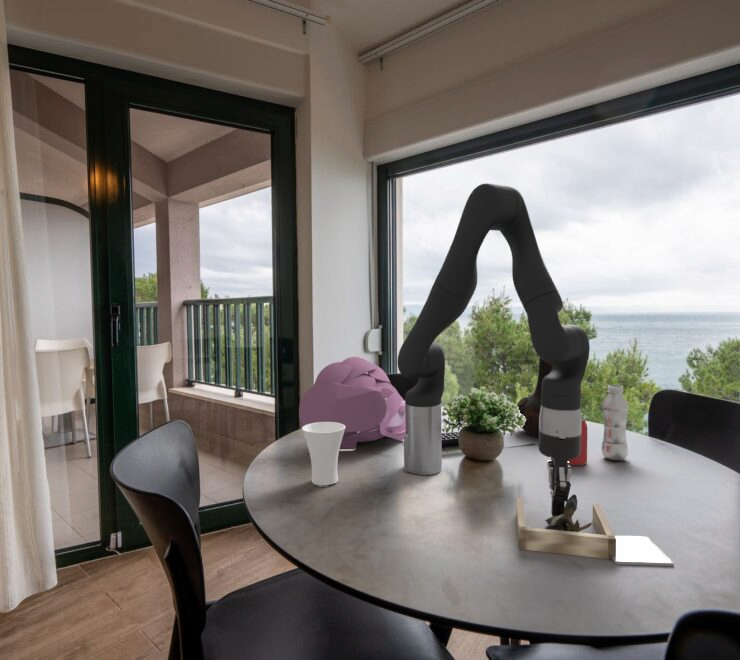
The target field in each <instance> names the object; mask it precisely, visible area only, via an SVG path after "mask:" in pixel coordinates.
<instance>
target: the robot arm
mask: <svg viewBox="0 0 740 660" xmlns="http://www.w3.org/2000/svg"><path fill="white" fill-rule="evenodd" d="M525 202H526V201H525V199H524V197H523V195H522V193H521V192H520V191H519V190H518V189H516V188H515V187H512V186H509V185H503V184H496V183H481V184H479V185H477V186H476V187H474V189H473V190H472V192H470V194H469V196H468V198H467V199H466V203H465V206H464V208H463V211H462V213H461V217H460V219H459V222H458V225H457V228H456V230H455V231H456V232H455V234H454V236H453V239H452V242H451V245H450V246H449V249H448V251H447V255H446V256H445V259H444V261H443V263H442V266H441V268H440V270H439V272H438V274H437V276H436V278H435V280H434V282H433V284H432V287H431V289H430V291H429V294H428V296H427V299H426V301H425V303H424V305H423V307H422V309H421V311H420V313H419V315H418V317H417V319H416V321H415V323H414V324H413V326H412V328H411V330H410V331H409V333H408V335H407V336H406V338H405V339H404V341H403V343H402V345H400V346H401V347H400V349H399V351H398V355H397V368H398V371H399V373H400V374H401V375H402V376H403V377H404V378H409V379H418V381H417V383H416V384H415V385H414V386H413V387H412V388H410V389H409V390H407V391H406V392H405V394H404V395H405V396H404V401H405V426H406V433H405V434H404V442H403V471H404V472H405V473H411V474H414V475H421V476H427V475H428V476H430V475H435V474H439V473H440V472H441V471H442V470H443V469H442V464H443V461H442V458H443V457H442V454H443V453H442V452H443V451H442V448H443V447H442V440H443V439H442V398H443V394H444V392H445V391H444V390H445V379H446V378H445V374H446V373H445V372H446V357H445V352H444V349H443V347H442V345H441V344H440V343H439V342H438V341H436V339H437V338H438V336H440V334H442V333H443V332H444V331H445V330H446V329H447V328H449V327H450V326H451V325H452V324H453V323H454V322H456V321H457V320H458V319H459V318H460V317H461V315H462V314H463V313H464V312H465V311H466V309H467V307H468V305H469V303H470V302H471V300H472V298H473V295H474V294H475V292H476V289H477V286H478V267H477V266H478V263H477V262H478V261H477V260H478V255H479V251H480V249H481V246H483V245H482V244H483V242H484V241H485V239H486V236H487V235H488V233H489V232H490V231H499V232H500V233H501V235H502V236H503V237H504V239H505V241H506V242H507V245H508V246H509V249H510V253H511V258H512V259H511V261H512V263H511V264H512V265H511V267H512V268H511V273H512V275H511V277H512V281H513V287H514V290H515V292H516V295H517V296H518V298H519V301H520V303H521V305H522V307H523V309H524V311H525V314H526V316H527V324H528V329H529V335H530V341H531V343H532V346H533V349H534V351H535V353H536V355H537V354H538V356H537V357H539V359H540V358H541V359H542V360H544V361H545V362H547V363H550V364H553V368H552V371H551V372H550V374H548V375H547V376H545V377H544V378H543V380H542V385H541V410H540V416H539V437H538V451H539V453H540V454H541V455H543V456H545V457H547V458H550V459H549V460H547V462H546V467H547V469H548V476H547V477H548V479H547V481H548V483H549V485H548V486H549V489H550V493H549V494H550V498H551V517H553V516H559V515H561V514H564V509H565V504H566V502H567V500H568V499H569V495H570V490H571V487H572V483H571V482H570V480H571V479H570V478H571V476H572V465H569V462H568V460H570V459H575V458H578V457H579V456H580V454H581V425H582V419H581V417H582V411H581V405H582V403H581V402H582V399H581V397H582V388H581V387H582V383H583V380H584V377H585V373H586V370H587V366H588V362H589V357H590V351H591V350H590V341H589V336H588V334H587V332H586V331H585V330H584V329H583V328H582V327H581V326H578V325H575V324H561V321H560V317H559V312H561V310H562V309H563V307H564V302H563V299H562V296H561V295H560V292H559V290H558V289H557V286H556V284H555V282H554V280H553V278H552V275H550V272H549V270H548V268H547V266H546V263H545V261H544V259H543V256H542V254H541V250H540V247H539V245H538V242H537V238H536V234H535V232H534V228H533V225H532V222H531V218H530V215H529V211H528V208H527V205H526V203H525Z"/></svg>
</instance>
